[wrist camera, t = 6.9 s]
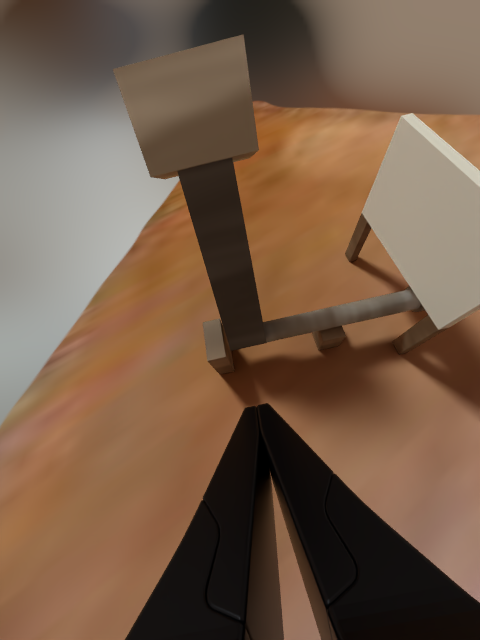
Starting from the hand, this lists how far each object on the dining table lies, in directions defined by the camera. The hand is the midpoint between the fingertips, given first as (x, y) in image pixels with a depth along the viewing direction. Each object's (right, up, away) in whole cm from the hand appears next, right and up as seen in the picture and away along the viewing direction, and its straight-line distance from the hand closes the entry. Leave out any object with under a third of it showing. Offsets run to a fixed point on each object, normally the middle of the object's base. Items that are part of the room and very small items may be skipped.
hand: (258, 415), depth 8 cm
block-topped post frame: (+5, +3, +8) cm, 10 cm away
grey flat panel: (+10, +7, +7) cm, 14 cm away
